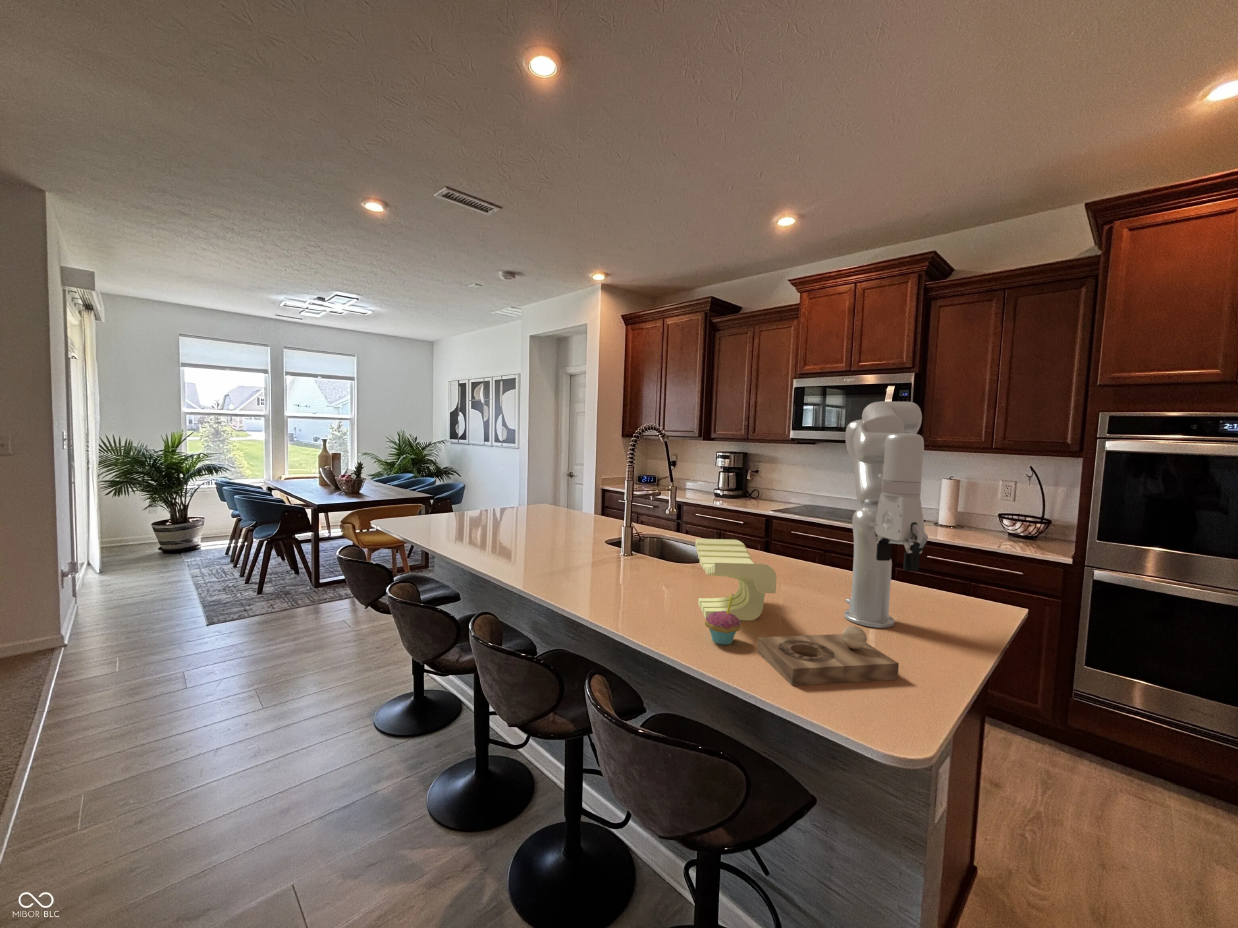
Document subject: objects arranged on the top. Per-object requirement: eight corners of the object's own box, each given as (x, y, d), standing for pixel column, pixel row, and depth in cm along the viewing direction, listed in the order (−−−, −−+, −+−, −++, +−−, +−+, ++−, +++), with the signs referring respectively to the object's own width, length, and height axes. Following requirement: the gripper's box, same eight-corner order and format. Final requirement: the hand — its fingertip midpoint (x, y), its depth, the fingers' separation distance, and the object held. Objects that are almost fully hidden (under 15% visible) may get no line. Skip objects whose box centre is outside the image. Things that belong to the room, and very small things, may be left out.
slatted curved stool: (773, 632, 132) (777, 564, 131) (711, 630, 132) (714, 562, 131) (743, 595, 162) (746, 539, 161) (693, 594, 162) (695, 538, 161)
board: (850, 647, 124) (851, 633, 124) (897, 679, 108) (898, 663, 108) (757, 651, 120) (758, 637, 119) (792, 685, 104) (792, 668, 104)
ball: (836, 644, 117) (838, 622, 117) (856, 643, 118) (858, 621, 117) (850, 653, 112) (851, 631, 112) (870, 652, 113) (872, 630, 112)
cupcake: (734, 634, 130) (737, 587, 129) (744, 648, 121) (746, 598, 121) (701, 633, 130) (703, 587, 129) (708, 647, 121) (710, 597, 120)
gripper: (863, 485, 122) (858, 556, 123) (910, 492, 105) (905, 575, 106) (892, 486, 123) (888, 556, 124) (945, 493, 106) (939, 576, 106)
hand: (896, 565), depth 115 cm, fingers open, 9 cm apart
